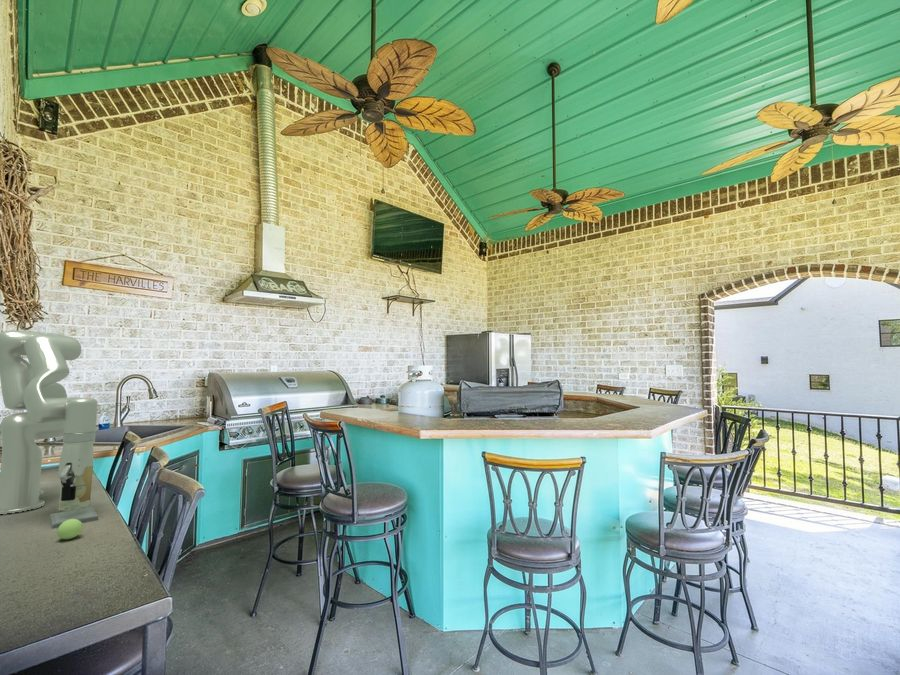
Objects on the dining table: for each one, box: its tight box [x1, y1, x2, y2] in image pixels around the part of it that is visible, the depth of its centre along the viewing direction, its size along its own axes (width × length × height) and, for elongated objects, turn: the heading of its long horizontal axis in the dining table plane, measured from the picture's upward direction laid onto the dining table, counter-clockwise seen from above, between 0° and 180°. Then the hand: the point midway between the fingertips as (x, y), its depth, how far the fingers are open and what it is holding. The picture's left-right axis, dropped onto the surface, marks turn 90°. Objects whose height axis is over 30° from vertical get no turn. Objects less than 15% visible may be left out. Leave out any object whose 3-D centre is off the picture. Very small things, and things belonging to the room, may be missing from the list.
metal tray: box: [49, 506, 99, 529], centre depth 128 cm, size 14×10×1 cm
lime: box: [56, 519, 84, 541], centre depth 111 cm, size 5×5×5 cm
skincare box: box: [58, 465, 94, 511], centre depth 129 cm, size 6×4×12 cm
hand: (75, 496), depth 128 cm, fingers closed on skincare box, 7 cm apart
